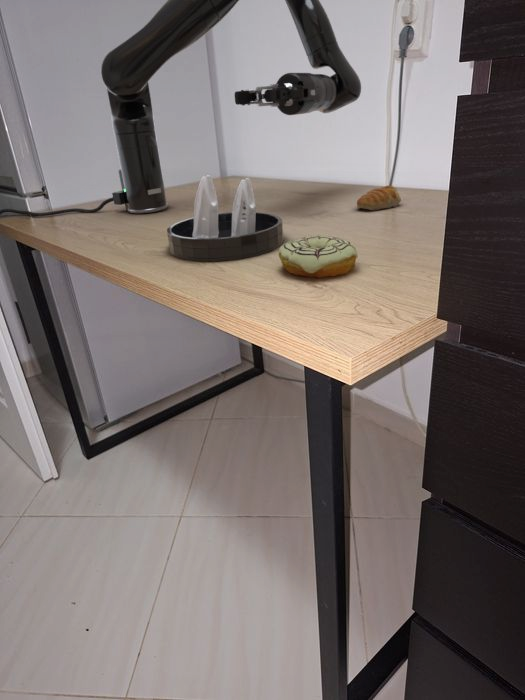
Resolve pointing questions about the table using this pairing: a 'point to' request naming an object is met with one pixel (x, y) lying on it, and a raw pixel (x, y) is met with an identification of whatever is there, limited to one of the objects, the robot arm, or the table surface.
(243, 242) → the pan
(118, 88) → the robot arm
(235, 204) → the shaker set
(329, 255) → the decorated donut
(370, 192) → the pastry
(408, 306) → the table surface
